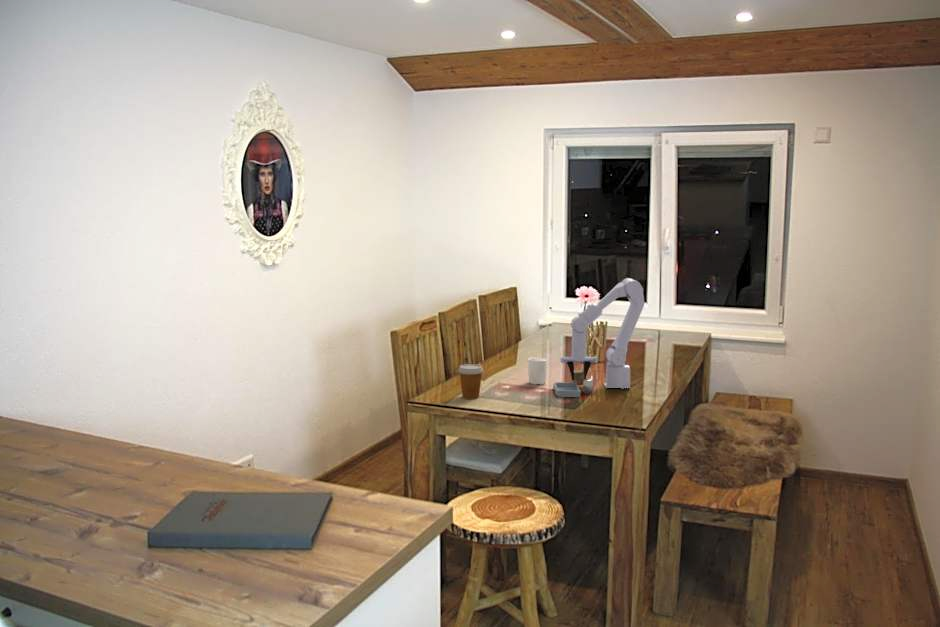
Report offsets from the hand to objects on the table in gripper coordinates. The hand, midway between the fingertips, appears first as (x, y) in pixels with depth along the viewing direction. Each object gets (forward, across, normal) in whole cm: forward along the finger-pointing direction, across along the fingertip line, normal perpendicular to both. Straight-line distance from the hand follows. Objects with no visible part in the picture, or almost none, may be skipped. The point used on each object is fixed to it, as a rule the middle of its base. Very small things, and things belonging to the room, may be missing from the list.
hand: (578, 379), depth 320 cm
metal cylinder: (+3, +3, -8) cm, 9 cm away
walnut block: (+2, 0, 0) cm, 2 cm away
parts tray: (+3, -6, -9) cm, 11 cm away
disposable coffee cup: (+3, -43, -17) cm, 47 cm away
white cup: (+3, -16, +7) cm, 18 cm away
